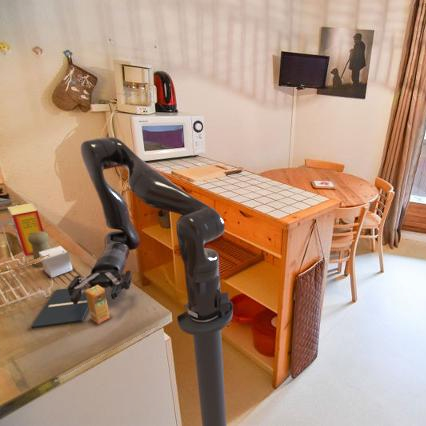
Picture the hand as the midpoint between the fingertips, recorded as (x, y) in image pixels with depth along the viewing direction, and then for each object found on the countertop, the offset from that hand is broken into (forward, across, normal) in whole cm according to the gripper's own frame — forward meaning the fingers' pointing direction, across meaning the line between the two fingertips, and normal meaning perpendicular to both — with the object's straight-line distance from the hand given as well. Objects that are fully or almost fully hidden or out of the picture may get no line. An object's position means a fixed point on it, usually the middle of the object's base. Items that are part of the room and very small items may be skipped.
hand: (93, 298), depth 83 cm
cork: (-36, -25, +8) cm, 45 cm away
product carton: (-30, -19, +8) cm, 36 cm away
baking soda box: (-48, -32, +8) cm, 58 cm away
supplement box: (-2, 0, +8) cm, 8 cm away
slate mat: (-10, -10, +8) cm, 16 cm away
